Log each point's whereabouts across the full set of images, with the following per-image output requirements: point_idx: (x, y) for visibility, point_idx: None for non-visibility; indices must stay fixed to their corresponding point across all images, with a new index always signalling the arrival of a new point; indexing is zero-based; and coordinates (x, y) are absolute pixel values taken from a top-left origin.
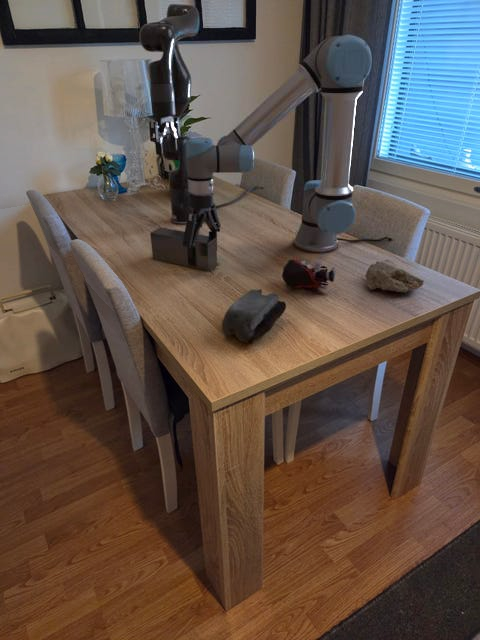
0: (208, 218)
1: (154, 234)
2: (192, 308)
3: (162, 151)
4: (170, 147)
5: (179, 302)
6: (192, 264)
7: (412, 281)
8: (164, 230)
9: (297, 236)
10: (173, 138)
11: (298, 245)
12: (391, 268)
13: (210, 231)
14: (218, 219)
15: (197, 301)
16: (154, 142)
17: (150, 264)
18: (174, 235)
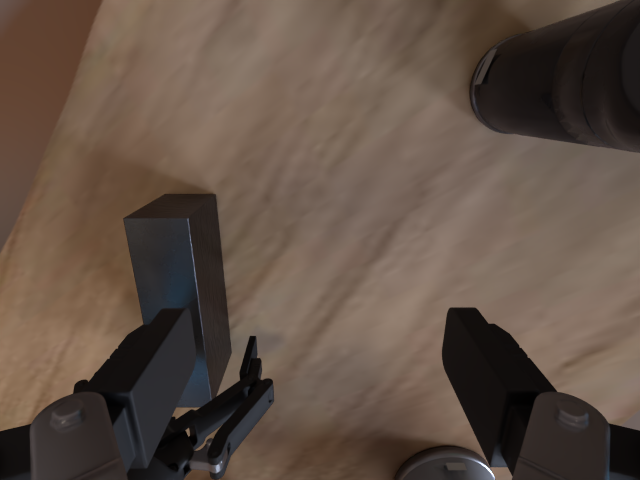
0: (191, 434)
1: (128, 235)
2: (33, 397)
3: (179, 386)
4: (459, 317)
5: (33, 368)
6: None
7: None
8: (169, 250)
9: (427, 475)
10: (506, 449)
11: (407, 466)
12: None
13: (244, 375)
14: (256, 420)
15: (61, 393)
16: (69, 400)
17: (133, 208)
18: (152, 303)
